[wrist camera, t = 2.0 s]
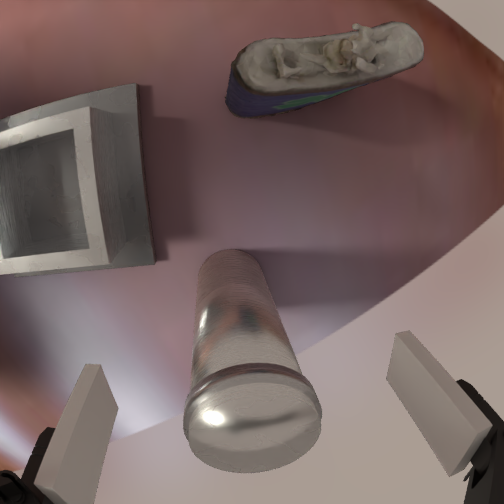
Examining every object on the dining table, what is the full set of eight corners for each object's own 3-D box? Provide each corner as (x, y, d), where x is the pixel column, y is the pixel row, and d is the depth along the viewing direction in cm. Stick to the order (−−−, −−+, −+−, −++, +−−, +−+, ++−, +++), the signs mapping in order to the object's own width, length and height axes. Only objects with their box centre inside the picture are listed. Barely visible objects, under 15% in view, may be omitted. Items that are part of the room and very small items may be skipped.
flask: (346, 56, 19) (439, 9, 9) (359, 94, 20) (462, 71, 10) (218, 88, 19) (224, 34, 9) (233, 129, 20) (253, 113, 10)
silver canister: (199, 314, 23) (196, 479, 10) (190, 250, 22) (167, 398, 9) (266, 307, 24) (320, 463, 11) (263, 243, 22) (333, 378, 9)
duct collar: (19, 273, 21) (-12, 299, 16) (-4, 123, 17) (-43, 124, 12) (156, 260, 22) (143, 290, 17) (138, 85, 18) (118, 69, 13)
